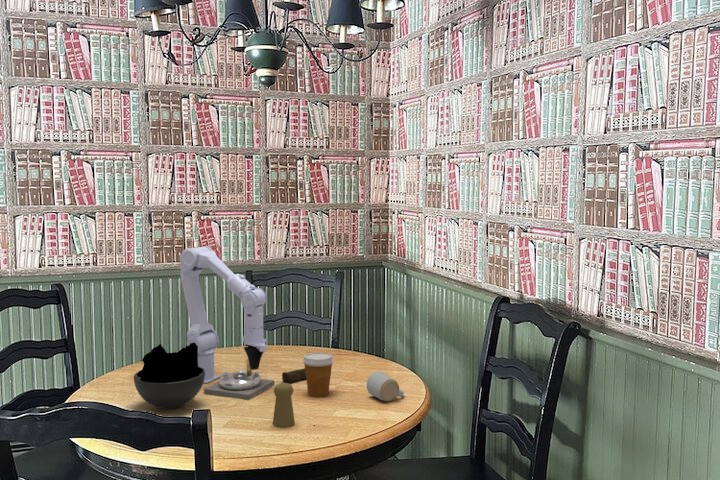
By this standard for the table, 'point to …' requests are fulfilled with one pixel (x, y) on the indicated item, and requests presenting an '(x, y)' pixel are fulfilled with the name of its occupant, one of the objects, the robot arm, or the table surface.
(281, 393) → the olive pawn figure
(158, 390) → the coal bowl
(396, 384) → the ceramic mug
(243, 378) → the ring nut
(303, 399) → the table surface
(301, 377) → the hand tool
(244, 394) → the base plate
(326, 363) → the disposable coffee cup
